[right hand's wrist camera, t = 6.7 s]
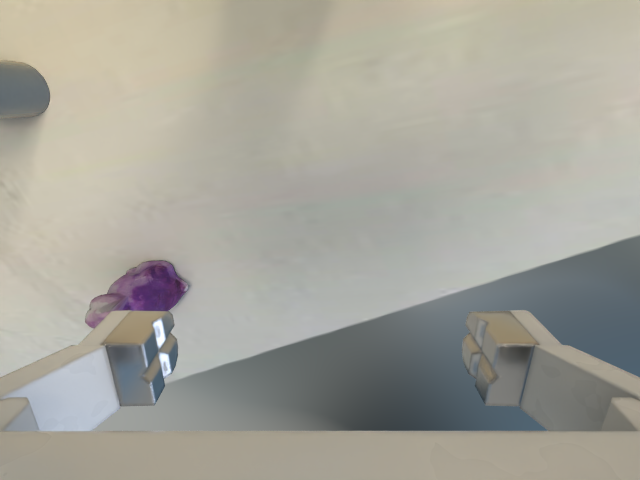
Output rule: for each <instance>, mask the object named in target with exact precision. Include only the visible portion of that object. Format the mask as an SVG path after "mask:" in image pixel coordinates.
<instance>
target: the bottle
mask: <svg viewBox="0 0 640 480" xmlns="http://www.w3.org/2000/svg"><path fill="white" fill-rule="evenodd" d="M49 99H50V93H49V89H48V86H47V83H46V81H45V80H44V78H43V77H42V75H41V74H40V73H39V72H38V71H37V70H36V69H34V68H33V67H31V66H29V65H27V64H25V63H21V62H13V61H4V60H0V119H3V118H17V117H31V116H37V115H39V114H41V113H43V112H44V111H45V110H46V108H47V106H48V104H49Z"/></svg>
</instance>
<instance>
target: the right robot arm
mask: <svg viewBox="0 0 640 480" xmlns="http://www.w3.org/2000/svg"><path fill="white" fill-rule="evenodd" d="M173 327H174V320H173V315H172V314H171V313H170V312H169V311H132V310H122V311H111V312H110V313H109V314H108V315H107V316H106V317H105V318H104V319H103V320H102V321H101V322H100V323H99V324H98V325H97V326H96V327H95V328H94V329H93V330H92V331H91V332H90V333H89V335H88V336H87V337H86V338H85V339H84V340H83V341H82V342H81V343H80V344H79V345H71V346H69V347H67V348H65V349H63V350H60V351H58V352H56V353H54V354H51V355H49V356H47V357H45V358H43V359H40V360H38V361H36V362H34V363H32V364H29V365H27V366H25V367H23V368H20V369H18V370H16V371H14V372H12V373H9V374H7V375H5V376H3V377H0V480H640V378H639V377H637V376H635V375H633V374H630V373H628V372H626V371H624V370H622V369H619V368H617V367H615V366H613V365H611V364H608V363H606V362H604V361H602V360H600V359H597V358H595V357H593V356H591V355H588V354H586V353H584V352H582V351H580V350H577V349H575V348H573V347H571V346H569V345H561V344H560V343H559V342H558V341H557V340H556V339H555V338H554V336H553V335H552V334H551V333H550V332H549V331H548V330H547V329H546V328H545V327H544V326H543V325H542V324H541V323H540V322H539V321H538V320H537V319H536V318H535V317H534V316H533V315H532V314H531V313H530V312H528V311H525V310H517V311H484V312H469V314H468V316H467V319H466V327H467V328H468V330H469V332H470V333H469V334H468V335H467V336H466V337H465V338H464V339H463V345H462V356H463V362H464V365H465V368H466V370H467V372H468V374H469V375H471V376H473V377H474V378H476V383H475V387H476V389H477V391H478V392H479V394H480V396H481V398H482V400H483V402H484V403H485V405H491V406H520V409H522V410H523V411H524V412H526V413H527V414H528V415H529V416H531V417H532V418H533V419H534V420H536V421H537V422H538V423H539V424H541V425H542V426H543V427H544V428H546V429H547V430H548V431H92V430H93V429H94V428H96V427H97V426H98V425H99V424H101V423H102V422H103V421H105V420H106V419H107V418H108V417H110V416H111V415H112V414H113V413H115V412H116V411H117V410H118V409H120V406H148V405H155V404H156V402H157V400H158V398H159V396H160V394H161V392H162V391H163V389H164V387H165V383H164V379H165V378H166V377H168V376H169V375H171V374H172V372H173V370H174V368H175V366H176V361H177V357H178V344H177V339H176V338H175V337H174V336H173V335H172V334H171V333H170V332H171V330H172V329H173Z"/></svg>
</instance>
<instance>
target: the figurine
mask: <svg viewBox="0 0 640 480" xmlns="http://www.w3.org/2000/svg"><path fill="white" fill-rule="evenodd" d="M187 289H188V285H187V283H186V282H185V281H183V280H182V279H180V278H179V277H178V276H177V275H176V273H175V271H174V268H173V266H172V265H171V264H170V263H168V262H166V261H148V262H143V263H141V264H140V265H138V266H137V267H136V268H132V269H130V270H128V271H127V273H126V275H124V276H122V277H121V278H119V279H118V280H117V281H115V282H114V283H113V284H112V285H111V287H110V288H109V290H108V292H107V294H105V295H100V296H98V297H96V298H94V299H93V300H92V301H91V303H90V309H89V310H88V312H87V314H86V317H85V322H86V324H88V326H90V327H91V328H95V327H96V326H97V325H98V324H99V323H100V322H101V321H102V320H103V319H104V318H105V317H106V316H107V315H108V314H109V313H110V312H111V311H122V310H132V311H169V310H170V309H171V308H172V307H173V306H174V305H175V304H176V303H177V302H178V300H179V299H180V298H181V296H182V295H183V294H184V293H185V292H186V291H187Z"/></svg>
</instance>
